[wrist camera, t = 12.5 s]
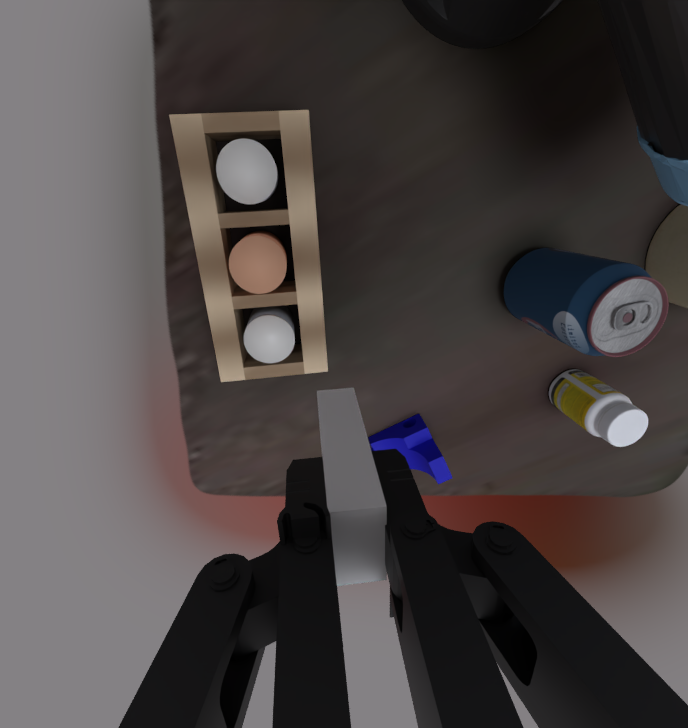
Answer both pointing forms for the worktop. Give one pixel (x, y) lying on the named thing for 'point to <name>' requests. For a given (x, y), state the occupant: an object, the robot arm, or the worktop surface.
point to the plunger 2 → (270, 334)
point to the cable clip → (413, 447)
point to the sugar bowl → (671, 256)
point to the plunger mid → (258, 262)
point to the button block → (214, 221)
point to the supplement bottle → (598, 408)
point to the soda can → (586, 301)
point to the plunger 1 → (247, 171)
